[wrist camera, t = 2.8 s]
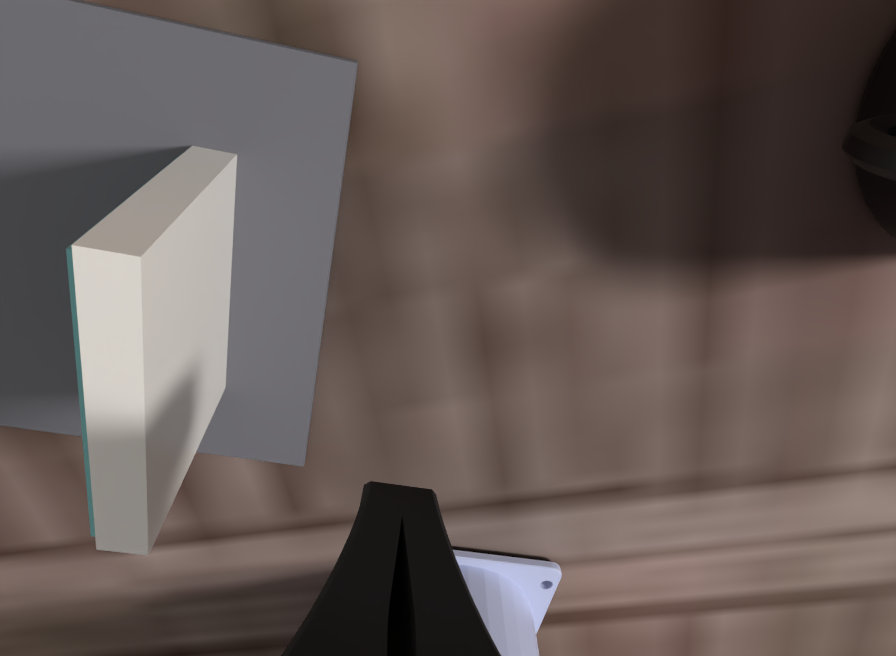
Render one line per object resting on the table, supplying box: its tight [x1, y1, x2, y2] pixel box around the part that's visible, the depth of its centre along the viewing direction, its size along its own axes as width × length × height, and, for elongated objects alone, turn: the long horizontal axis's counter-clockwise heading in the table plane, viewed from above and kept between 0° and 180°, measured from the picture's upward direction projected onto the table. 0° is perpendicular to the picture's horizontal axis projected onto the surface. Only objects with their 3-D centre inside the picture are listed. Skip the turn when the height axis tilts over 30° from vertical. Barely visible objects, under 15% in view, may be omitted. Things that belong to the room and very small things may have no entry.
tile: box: [66, 146, 237, 555], centre depth 17 cm, size 8×1×7 cm, turn 168°
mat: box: [0, 0, 358, 466], centre depth 20 cm, size 14×13×1 cm
